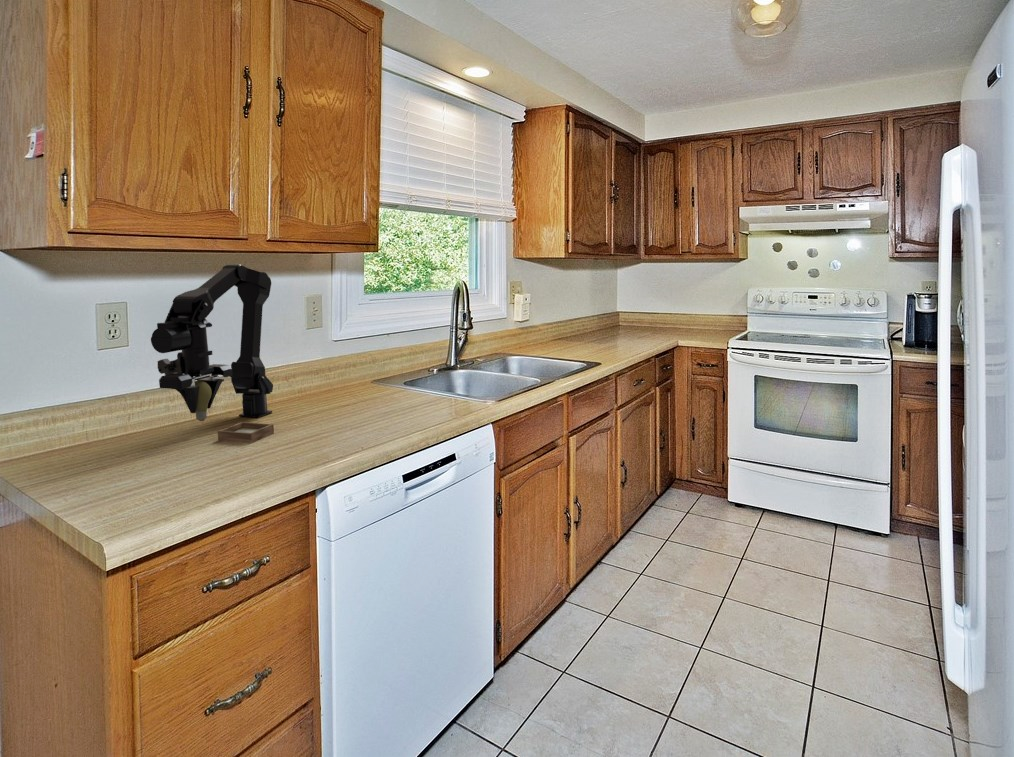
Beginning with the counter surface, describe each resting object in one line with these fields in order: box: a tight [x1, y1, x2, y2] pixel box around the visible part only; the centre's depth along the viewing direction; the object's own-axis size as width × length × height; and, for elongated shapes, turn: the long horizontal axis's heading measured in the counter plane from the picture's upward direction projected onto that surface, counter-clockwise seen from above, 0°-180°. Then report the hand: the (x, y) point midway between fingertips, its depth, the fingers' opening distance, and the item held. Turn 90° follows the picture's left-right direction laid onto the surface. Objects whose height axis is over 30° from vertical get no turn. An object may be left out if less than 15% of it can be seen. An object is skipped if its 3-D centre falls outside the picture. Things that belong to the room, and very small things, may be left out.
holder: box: [217, 421, 275, 444], centre depth 154 cm, size 9×9×2 cm
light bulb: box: [195, 380, 212, 422], centre depth 155 cm, size 6×6×10 cm
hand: (200, 410), depth 156 cm, fingers closed on light bulb, 5 cm apart
